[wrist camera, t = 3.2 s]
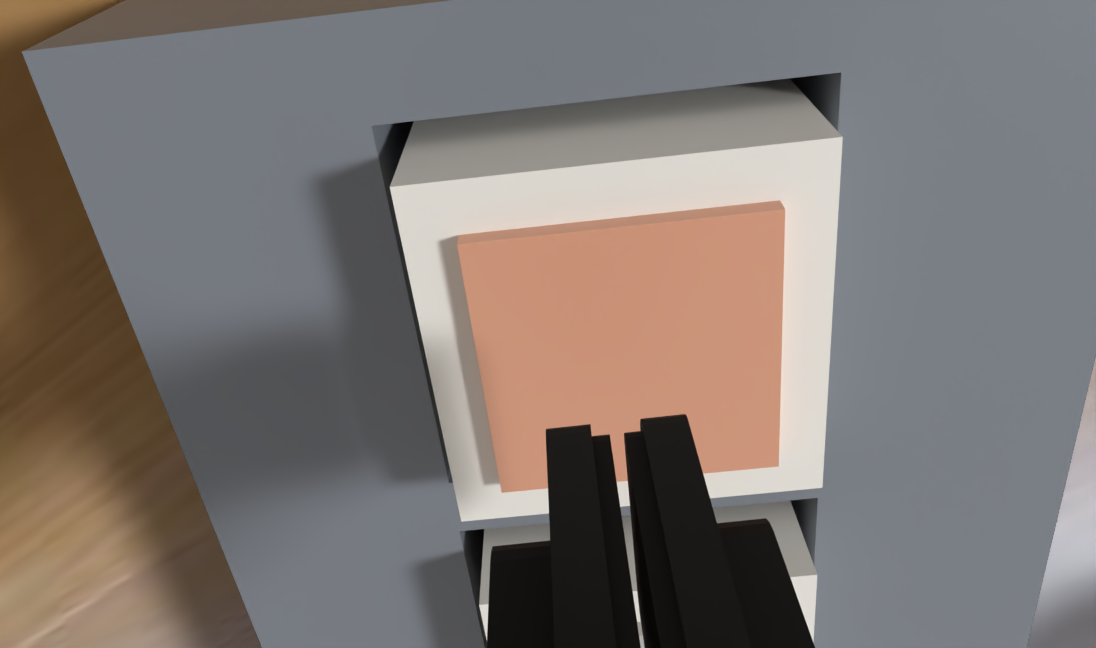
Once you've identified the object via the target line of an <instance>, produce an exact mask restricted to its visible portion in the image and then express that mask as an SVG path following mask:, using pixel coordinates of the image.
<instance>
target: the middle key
mask: <svg viewBox="0 0 1096 648" xmlns="http://www.w3.org/2000/svg"><path fill="white" fill-rule="evenodd" d="M713 511H714V514H715V518H716V521H717V523H724V522H734V521H743V520H753V519H763V518H766V519H767V520H768V521H769V522H770V524H771V526H772V529H773V531H774V533H775V536H776V539H777V542H778V544H779V547H780V550H781V553H782V556H783V558H784V561H785V564H786V567H787V570H788V573H789V575H790V578H791V581H792V584H793V587H794V589H795V592H796V595H797V598H798V601H799V603H800V606H801V609H802V612H803V615H804V618H805V620H806V623H807V626H808V629H809V632H810V634H811V637H812V640H813V642H814V625H815V608H816V590H817V572H816V570H815V567H814V564H813V561H812V559H811V556H810V553H809V550H808V548H807V545H806V542H805V539H804V537H803V534H802V531H801V529H800V526H799V523H798V520H797V518H796V515H795V512H794V509H793V507H792V504H791V501H790V500H789V501H779V502H768V503H757V504H746V505H736V506H725V507H714V508H713ZM622 522H623V529H624V536H625V543H626V550H627V556H628V563H629V570H630V577H631V584H632V591H633V598H634V605H635V611H636V618H637V625H638V632H639V639H640V646H641V648H645V647H644V640H643V633H642V627H641V620H640V612H639V603H638V594H637V583H636V571H635V559H634V548H633V536H632V525H631V515H628V516H622ZM549 540H550V525H549V523H543V524H532V525H521V526H510V527H500V528H489V529H484V540H483V555H482V570H481V585H480V600H479V607H480V611H481V616H482V621H483V625H484V630H485V635H486V639H487V629H488V604H489V579H490V558H491V550H492V547H493V546H501V545H511V544H520V543H530V542H540V541H549Z"/></svg>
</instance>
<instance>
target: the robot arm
mask: <svg viewBox="0 0 1096 648" xmlns="http://www.w3.org/2000/svg"><path fill="white" fill-rule="evenodd" d="M624 443H625V455H626V467H627V478H628V490H629V501H630V513H631V525H632V536H633V548H634V559H635V571H636V583H637V594H638V603H639V612H640V620H641V627H642V633H643V640H644V647H645V648H815V646H814V643H813V640H812V637H811V634H810V632H809V629H808V626H807V623H806V620H805V618H804V615H803V612H802V609H801V606H800V603H799V601H798V598H797V595H796V592H795V589H794V587H793V584H792V581H791V578H790V575H789V573H788V570H787V567H786V564H785V561H784V558H783V556H782V553H781V550H780V547H779V544H778V542H777V539H776V536H775V533H774V531H773V529H772V526H771V524H770V522H769V521H768V520H767V519H766V518H763V519H753V520H743V521H734V522H724V523H717V521H716V518H715V514H714V511H713V507H712V504H711V500H710V496H709V493H708V489H707V486H706V482H705V478H704V475H703V471H702V468H701V464H700V461H699V457H698V453H697V450H696V446H695V443H694V439H693V436H692V432H691V428H690V425H689V421H688V418H687V416H686V414H680V415H671V416H662V417H652V418H643V419H640V431H636V432H627V433H624ZM546 453H547V477H548V501H549V525H550V540H549V541H540V542H530V543H520V544H511V545H501V546H493V547H492V550H491V558H490V579H489V604H488V629H487V648H641V646H640V639H639V632H638V625H637V618H636V611H635V605H634V598H633V591H632V584H631V577H630V570H629V563H628V556H627V550H626V543H625V536H624V529H623V522H622V515H621V508H620V502H619V495H618V488H617V481H616V474H615V467H614V460H613V453H612V447H611V440H610V434H608V435H598V436H592V434H591V425H590V424H587V425H578V426H568V427H559V428H550V429H546Z"/></svg>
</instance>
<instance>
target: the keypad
mask: <svg viewBox="0 0 1096 648" xmlns="http://www.w3.org/2000/svg"><path fill="white" fill-rule="evenodd" d="M22 54H23V57H24V59H25V62H26V64H27V66H28V69H29V71H30V74H31V76H32V79H33V81H34V84H35V86H36V89H37V91H38V94H39V96H40V99H41V101H42V104H43V106H44V109H45V111H46V114H47V116H48V119H49V121H50V123H51V126H52V128H53V131H54V133H55V136H56V138H57V141H58V143H59V146H60V148H61V151H62V153H63V156H64V158H65V161H66V163H67V166H68V168H69V171H70V173H71V176H72V178H73V181H74V183H75V185H76V188H77V190H78V193H79V195H80V198H81V200H82V203H83V205H84V208H85V210H86V213H87V215H88V218H89V220H90V223H91V225H92V228H93V230H94V233H95V235H96V238H97V240H98V242H99V245H100V247H101V250H102V252H103V255H104V257H105V260H106V262H107V265H108V267H109V270H110V272H111V275H112V277H113V280H114V282H115V285H116V287H117V290H118V292H119V295H120V297H121V300H122V302H123V304H124V307H125V309H126V312H127V314H128V317H129V319H130V322H131V324H132V327H133V329H134V332H135V334H136V337H137V339H138V342H139V344H140V347H141V349H142V352H143V354H144V357H145V359H146V361H147V364H148V366H149V369H150V371H151V374H152V376H153V379H154V381H155V384H156V386H157V389H158V391H159V394H160V396H161V399H162V401H163V404H164V406H165V409H166V411H167V414H168V416H169V418H170V421H171V423H172V426H173V428H174V431H175V433H176V436H177V438H178V441H179V443H180V446H181V448H182V451H183V453H184V456H185V458H186V461H187V463H188V466H189V468H190V471H191V473H192V476H193V478H194V480H195V483H196V485H197V488H198V490H199V493H200V495H201V498H202V500H203V503H204V505H205V508H206V510H207V513H208V515H209V518H210V520H211V523H212V525H213V528H214V530H215V533H216V535H217V537H218V540H219V542H220V545H221V547H222V550H223V552H224V555H225V557H226V560H227V562H228V565H229V567H230V570H231V572H232V575H233V577H234V580H235V582H236V585H237V587H238V590H239V592H240V595H241V597H242V599H243V602H244V604H245V607H246V609H247V612H248V614H249V617H250V619H251V622H252V624H253V627H254V629H255V632H256V634H257V637H258V639H259V642H260V644H261V647H262V648H487V639H486V635H485V630H484V625H483V621H482V616H481V611H480V607H479V600H480V585H481V570H482V555H483V540H484V529H489V528H500V527H510V526H521V525H532V524H543V523H549V513H548V514H538V515H527V516H516V517H506V518H495V519H484V520H474V521H463V522H461V518H460V513H459V509H458V504H457V499H456V495H455V490H454V485H453V481H452V476H451V471H450V467H449V462H448V457H447V453H446V448H445V443H444V439H443V434H442V429H441V425H440V420H439V415H438V410H437V406H436V401H435V396H434V392H433V387H432V382H431V378H430V373H429V368H428V364H427V359H426V354H425V350H424V345H423V340H422V336H421V331H420V326H419V322H418V317H417V312H416V308H415V303H414V298H413V294H412V289H411V284H410V280H409V275H408V270H407V266H406V261H405V256H404V252H403V247H402V242H401V238H400V233H399V228H398V224H397V219H396V214H395V210H394V205H393V200H392V196H391V191H390V185H391V182H392V179H393V177H394V174H395V171H396V169H397V166H398V163H399V160H400V158H401V155H402V152H403V150H404V147H405V144H406V141H407V139H408V136H409V133H410V131H411V128H412V125H413V122H414V121H419V120H428V119H436V118H445V117H454V116H463V115H472V114H480V113H489V112H498V111H507V110H515V109H524V108H533V107H542V106H551V105H559V104H568V103H577V102H586V101H595V100H603V99H612V98H621V97H630V96H639V95H647V94H656V93H665V92H674V91H683V90H691V89H700V88H709V87H718V86H726V85H735V84H744V83H753V82H762V81H770V80H779V79H788V78H789V79H790V80H791V81H792V82H793V83H794V84H795V85H796V86H797V87H798V88H799V89H800V91H801V92H802V93H803V94H804V95H805V96H806V97H807V98H808V99H809V100H810V102H811V103H812V104H813V105H814V106H815V107H816V108H817V109H818V110H819V111H820V112H821V114H822V115H823V116H824V117H825V118H826V119H827V120H828V121H829V122H830V123H831V125H832V126H833V127H834V128H835V129H836V130H837V131H838V132H839V133H840V134H841V136H842V137H843V141H842V159H841V176H840V193H839V211H838V228H837V245H836V262H835V280H834V297H833V314H832V331H831V349H830V366H829V383H828V400H827V418H826V435H825V452H824V470H823V487H822V488H815V489H805V490H794V491H783V492H773V493H762V494H751V495H741V496H730V497H719V498H710V500H711V504H712V507H713V508H714V507H725V506H736V505H746V504H757V503H768V502H779V501H789V500H790V501H791V504H792V507H793V509H794V512H795V515H796V518H797V520H798V523H799V526H800V529H801V531H802V534H803V537H804V539H805V542H806V545H807V548H808V550H809V553H810V556H811V559H812V561H813V564H814V567H815V570H816V572H817V590H816V608H815V625H814V642H813V643H814V646H815V648H1027V645H1028V640H1029V636H1030V632H1031V628H1032V623H1033V619H1034V615H1035V611H1036V607H1037V602H1038V598H1039V594H1040V590H1041V585H1042V581H1043V577H1044V573H1045V569H1046V564H1047V560H1048V556H1049V552H1050V547H1051V543H1052V539H1053V535H1054V531H1055V526H1056V522H1057V518H1058V514H1059V509H1060V505H1061V501H1062V497H1063V492H1064V488H1065V484H1066V480H1067V476H1068V471H1069V467H1070V463H1071V459H1072V454H1073V450H1074V446H1075V442H1076V438H1077V433H1078V429H1079V425H1080V421H1081V416H1082V412H1083V408H1084V404H1085V400H1086V395H1087V391H1088V387H1089V383H1090V378H1091V374H1092V370H1093V366H1094V361H1095V357H1096V0H125V1H123V2H121V3H119V4H117V5H115V6H113V7H110V8H108V9H106V10H104V11H102V12H100V13H98V14H96V15H94V16H92V17H90V18H88V19H86V20H84V21H82V22H80V23H78V24H76V25H74V26H72V27H70V28H68V29H66V30H64V31H62V32H60V33H58V34H56V35H54V36H52V37H50V38H48V39H46V40H44V41H42V42H40V43H38V44H36V45H34V46H32V47H30V48H28V49H26V50H24V51H22ZM620 508H621V515H622V516H628V515H631V513H630V506H623V507H620Z"/></svg>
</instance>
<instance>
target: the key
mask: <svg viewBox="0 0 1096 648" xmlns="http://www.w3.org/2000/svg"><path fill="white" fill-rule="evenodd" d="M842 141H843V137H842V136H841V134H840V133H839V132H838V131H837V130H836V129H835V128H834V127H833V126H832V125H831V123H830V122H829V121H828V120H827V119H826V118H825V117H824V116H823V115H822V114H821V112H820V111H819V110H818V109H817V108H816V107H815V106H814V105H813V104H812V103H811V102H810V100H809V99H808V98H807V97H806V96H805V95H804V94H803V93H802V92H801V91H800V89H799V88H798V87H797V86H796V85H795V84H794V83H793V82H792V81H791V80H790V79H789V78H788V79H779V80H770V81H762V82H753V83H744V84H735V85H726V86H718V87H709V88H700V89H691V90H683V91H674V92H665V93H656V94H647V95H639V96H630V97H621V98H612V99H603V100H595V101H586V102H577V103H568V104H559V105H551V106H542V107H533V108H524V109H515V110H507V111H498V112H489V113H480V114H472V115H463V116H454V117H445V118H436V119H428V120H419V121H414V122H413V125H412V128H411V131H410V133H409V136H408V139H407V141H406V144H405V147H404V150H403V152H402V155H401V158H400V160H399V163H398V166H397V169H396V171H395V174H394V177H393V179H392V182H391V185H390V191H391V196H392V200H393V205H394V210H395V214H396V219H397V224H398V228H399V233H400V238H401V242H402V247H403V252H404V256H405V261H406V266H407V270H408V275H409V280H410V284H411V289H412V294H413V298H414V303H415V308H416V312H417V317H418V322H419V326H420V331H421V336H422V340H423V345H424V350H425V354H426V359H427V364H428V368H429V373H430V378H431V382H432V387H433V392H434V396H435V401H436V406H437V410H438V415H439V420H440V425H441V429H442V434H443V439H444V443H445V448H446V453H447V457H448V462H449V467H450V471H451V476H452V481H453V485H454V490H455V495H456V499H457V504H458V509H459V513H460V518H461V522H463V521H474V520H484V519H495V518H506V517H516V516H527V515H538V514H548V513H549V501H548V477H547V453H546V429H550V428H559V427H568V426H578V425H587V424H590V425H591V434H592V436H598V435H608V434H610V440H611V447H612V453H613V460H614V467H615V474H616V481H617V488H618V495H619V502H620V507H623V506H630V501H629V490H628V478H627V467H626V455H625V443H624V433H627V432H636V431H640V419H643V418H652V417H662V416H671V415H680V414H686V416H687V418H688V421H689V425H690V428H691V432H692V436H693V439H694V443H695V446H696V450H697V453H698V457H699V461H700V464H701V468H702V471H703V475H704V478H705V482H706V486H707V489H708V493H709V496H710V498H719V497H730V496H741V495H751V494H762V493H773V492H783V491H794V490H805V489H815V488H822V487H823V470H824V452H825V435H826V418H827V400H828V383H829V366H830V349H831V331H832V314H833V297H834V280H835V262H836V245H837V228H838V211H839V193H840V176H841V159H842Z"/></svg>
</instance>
